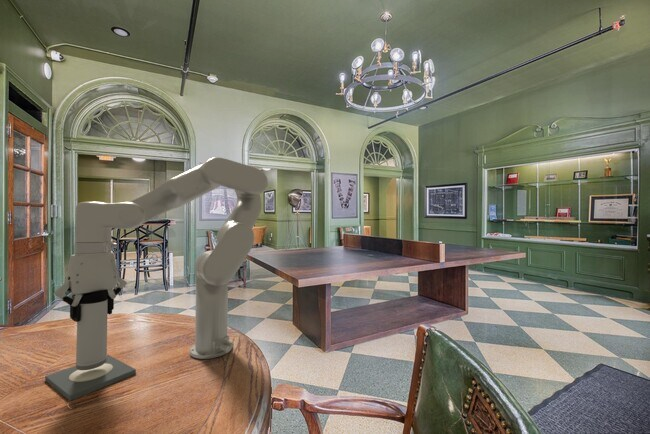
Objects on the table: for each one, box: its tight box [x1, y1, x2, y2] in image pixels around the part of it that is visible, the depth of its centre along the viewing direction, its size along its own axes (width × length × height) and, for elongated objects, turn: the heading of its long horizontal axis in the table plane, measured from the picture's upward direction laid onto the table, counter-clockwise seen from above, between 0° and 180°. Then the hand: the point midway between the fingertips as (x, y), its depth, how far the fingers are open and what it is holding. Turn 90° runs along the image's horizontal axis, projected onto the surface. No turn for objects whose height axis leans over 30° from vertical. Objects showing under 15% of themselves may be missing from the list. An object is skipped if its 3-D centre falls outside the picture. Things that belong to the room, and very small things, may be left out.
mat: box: [44, 354, 137, 402], centre depth 77 cm, size 16×14×1 cm
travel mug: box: [75, 289, 109, 370], centre depth 77 cm, size 6×7×20 cm
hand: (92, 316), depth 77 cm, fingers closed on travel mug, 6 cm apart
